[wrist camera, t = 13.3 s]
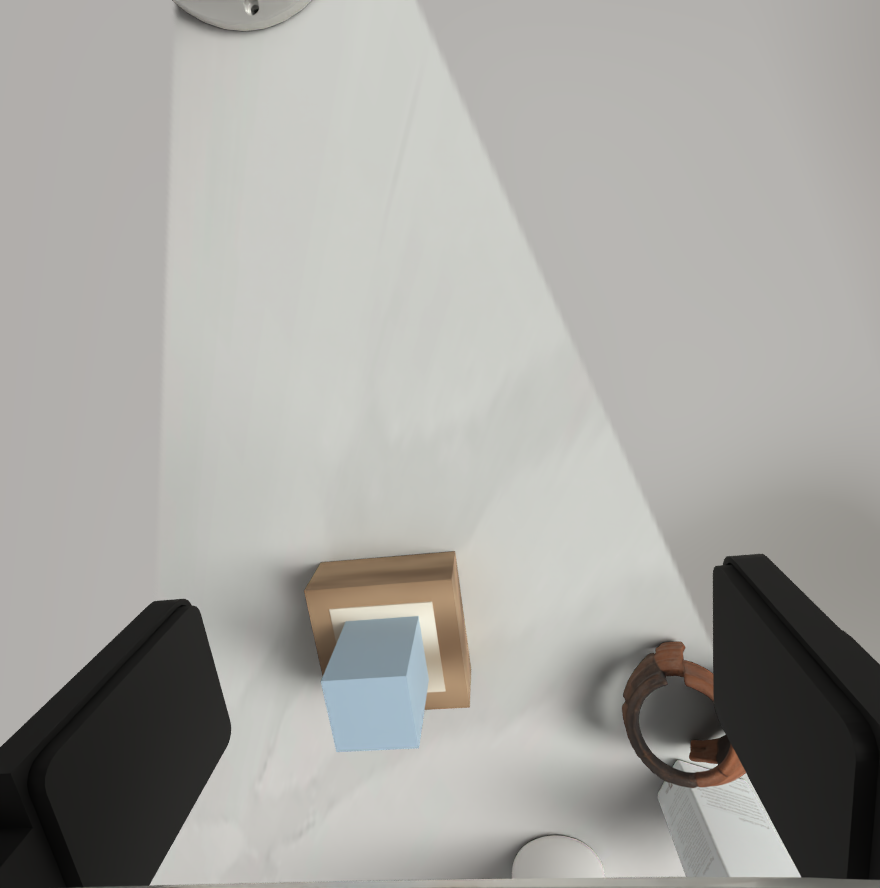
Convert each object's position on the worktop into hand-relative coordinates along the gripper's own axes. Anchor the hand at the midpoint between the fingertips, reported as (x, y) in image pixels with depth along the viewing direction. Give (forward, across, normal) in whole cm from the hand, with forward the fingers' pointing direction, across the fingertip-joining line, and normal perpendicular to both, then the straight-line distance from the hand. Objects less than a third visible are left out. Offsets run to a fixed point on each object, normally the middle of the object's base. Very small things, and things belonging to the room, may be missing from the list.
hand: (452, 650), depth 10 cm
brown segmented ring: (+29, -14, +25) cm, 40 cm away
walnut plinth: (+28, +8, +17) cm, 34 cm away
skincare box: (+28, -14, +34) cm, 47 cm away
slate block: (+24, +8, +17) cm, 31 cm away
